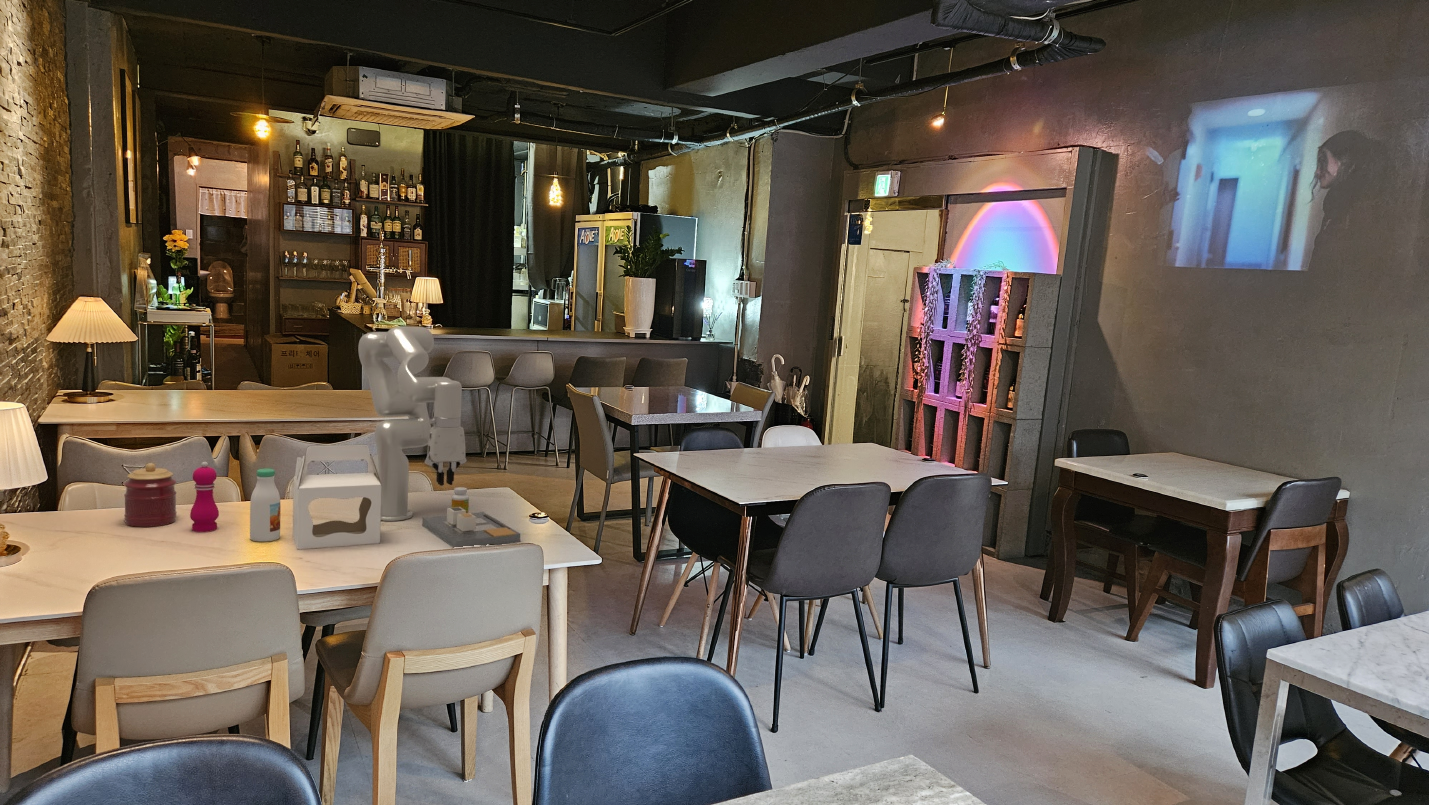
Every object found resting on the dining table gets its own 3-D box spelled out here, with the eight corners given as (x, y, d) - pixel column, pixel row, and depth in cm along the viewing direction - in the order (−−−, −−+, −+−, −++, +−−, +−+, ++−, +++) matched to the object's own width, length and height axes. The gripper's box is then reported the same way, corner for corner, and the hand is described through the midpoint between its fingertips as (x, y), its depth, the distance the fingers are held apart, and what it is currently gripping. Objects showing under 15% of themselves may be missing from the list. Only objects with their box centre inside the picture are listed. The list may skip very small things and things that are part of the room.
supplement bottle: (466, 520, 286) (467, 490, 285) (449, 519, 285) (450, 489, 284) (469, 515, 291) (470, 487, 290) (452, 515, 291) (453, 486, 289)
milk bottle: (259, 544, 246) (260, 473, 244) (244, 538, 250) (244, 469, 248) (285, 538, 253) (286, 470, 250) (270, 533, 257) (270, 466, 254)
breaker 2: (462, 531, 262) (463, 517, 262) (456, 527, 266) (457, 513, 266) (475, 529, 265) (476, 516, 264) (469, 525, 269) (469, 512, 268)
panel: (455, 549, 254) (455, 540, 253) (422, 525, 276) (422, 516, 275) (520, 541, 266) (520, 532, 266) (483, 519, 288) (483, 511, 287)
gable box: (373, 531, 266) (375, 440, 263) (381, 543, 255) (383, 448, 251) (291, 537, 254) (293, 441, 251) (296, 550, 243) (297, 450, 240)
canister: (182, 523, 260) (182, 465, 258) (131, 530, 250) (131, 469, 248) (168, 514, 269) (168, 457, 267) (118, 520, 259) (118, 461, 257)
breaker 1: (452, 524, 269) (453, 511, 268) (446, 520, 272) (447, 507, 272) (465, 523, 271) (466, 510, 270) (459, 519, 275) (459, 506, 274)
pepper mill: (224, 528, 258) (224, 461, 256) (203, 534, 251) (203, 465, 249) (205, 524, 260) (206, 458, 258) (184, 530, 254) (184, 462, 251)
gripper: (424, 425, 250) (422, 489, 252) (478, 423, 259) (475, 485, 261) (415, 421, 255) (413, 483, 258) (468, 420, 265) (466, 479, 267)
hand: (445, 483), depth 260 cm, fingers closed
